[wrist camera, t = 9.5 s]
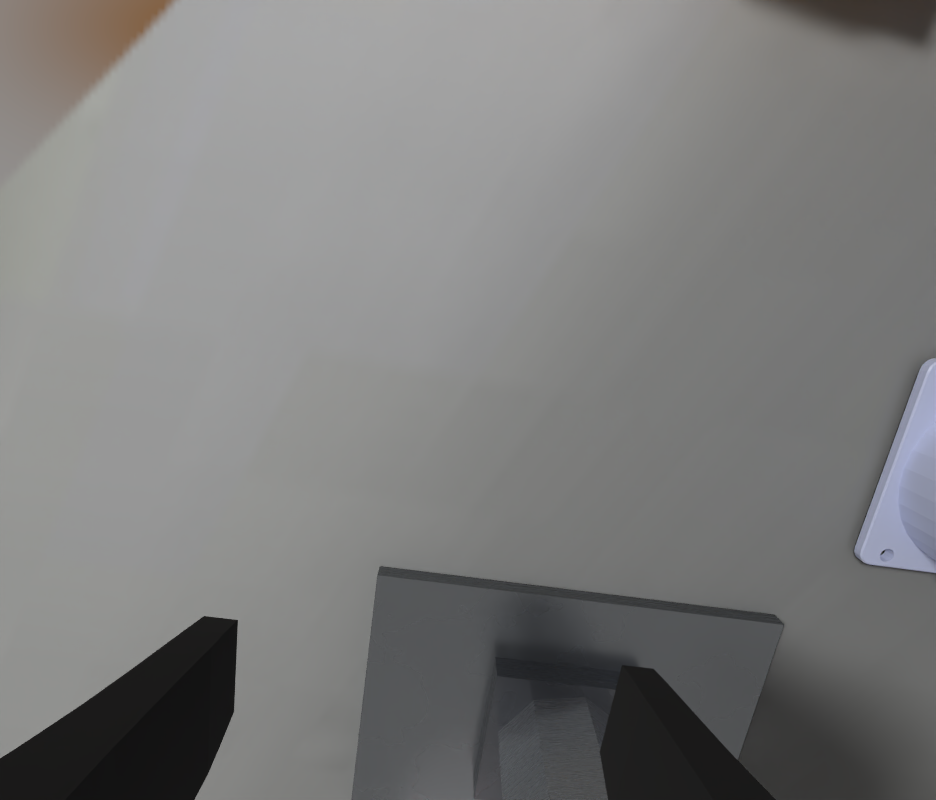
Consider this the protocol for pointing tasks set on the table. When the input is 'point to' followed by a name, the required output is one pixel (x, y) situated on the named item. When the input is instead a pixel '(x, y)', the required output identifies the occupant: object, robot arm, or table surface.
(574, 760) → the tube
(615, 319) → the table surface
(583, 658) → the grey square base plate
